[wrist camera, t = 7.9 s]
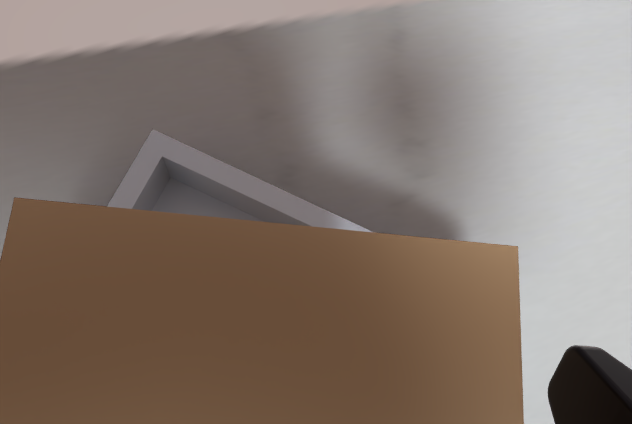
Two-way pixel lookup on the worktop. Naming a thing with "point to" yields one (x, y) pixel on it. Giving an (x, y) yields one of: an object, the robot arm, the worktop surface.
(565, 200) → the worktop surface
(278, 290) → the oak block
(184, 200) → the dish
